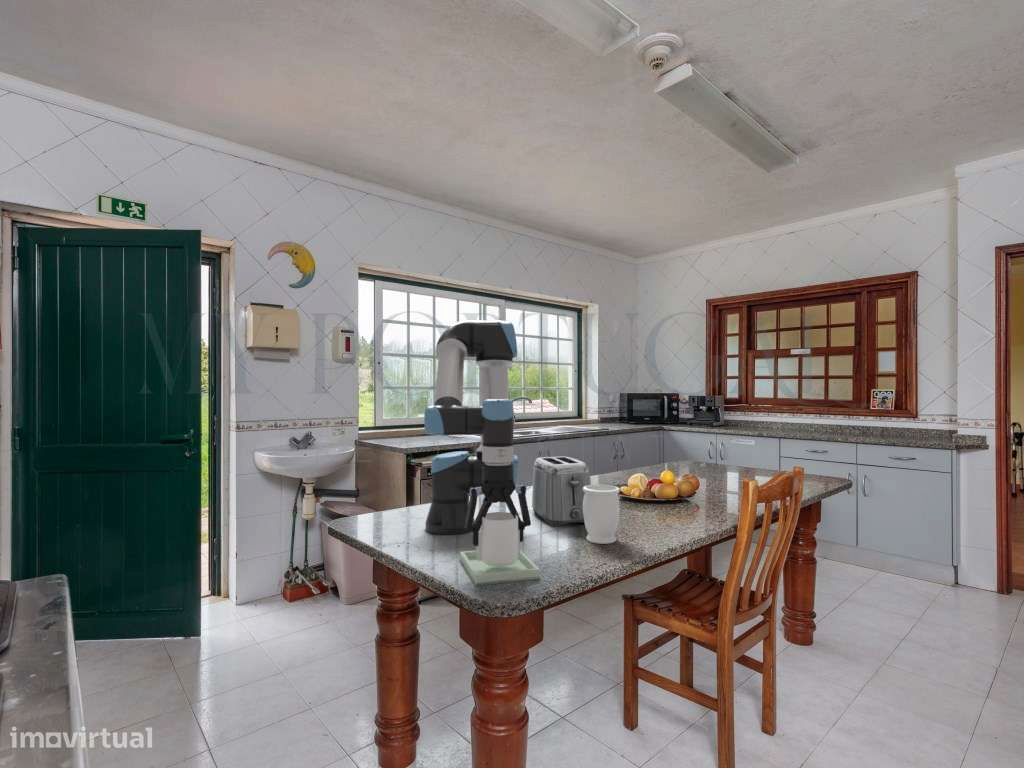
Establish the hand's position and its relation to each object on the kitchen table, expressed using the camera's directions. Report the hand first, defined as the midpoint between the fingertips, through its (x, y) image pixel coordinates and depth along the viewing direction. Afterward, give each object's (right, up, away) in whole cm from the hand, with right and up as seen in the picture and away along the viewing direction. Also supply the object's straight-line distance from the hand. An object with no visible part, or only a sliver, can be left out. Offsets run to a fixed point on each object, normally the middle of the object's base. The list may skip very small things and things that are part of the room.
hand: (498, 557), depth 130 cm
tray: (0, -3, 0) cm, 3 cm away
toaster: (+19, -3, +52) cm, 55 cm away
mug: (0, -1, 0) cm, 1 cm away
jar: (+29, -3, +24) cm, 38 cm away
